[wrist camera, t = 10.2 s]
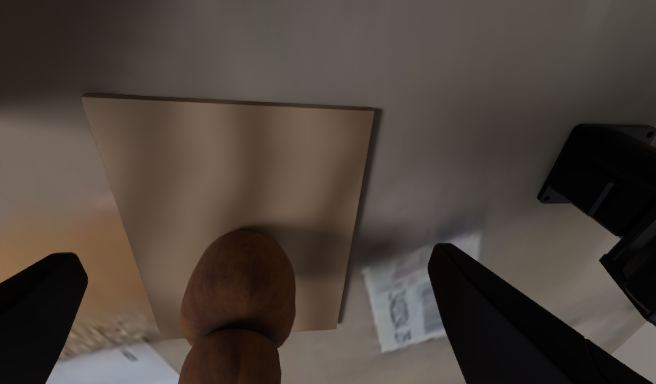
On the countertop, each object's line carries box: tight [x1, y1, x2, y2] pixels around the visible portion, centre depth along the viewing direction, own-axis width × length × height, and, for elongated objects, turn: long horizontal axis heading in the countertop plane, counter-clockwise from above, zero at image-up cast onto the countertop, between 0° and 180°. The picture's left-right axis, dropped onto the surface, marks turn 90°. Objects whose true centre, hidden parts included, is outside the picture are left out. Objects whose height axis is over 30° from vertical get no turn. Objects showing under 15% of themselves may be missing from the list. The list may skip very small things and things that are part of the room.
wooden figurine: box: [178, 231, 296, 384], centre depth 18 cm, size 7×6×15 cm
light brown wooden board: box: [80, 93, 375, 339], centre depth 24 cm, size 16×22×2 cm
